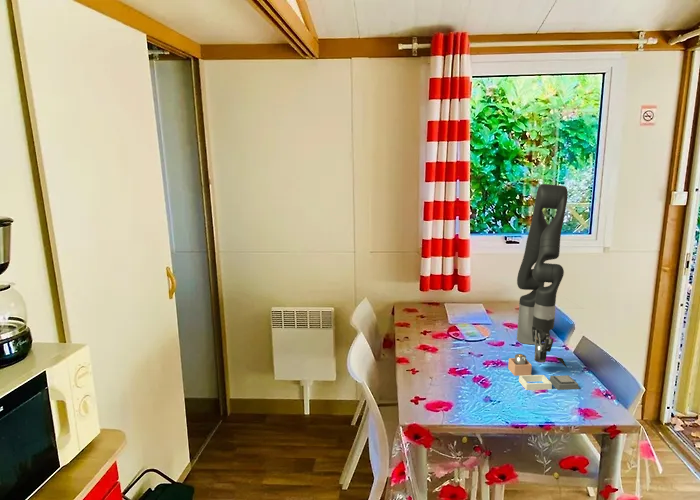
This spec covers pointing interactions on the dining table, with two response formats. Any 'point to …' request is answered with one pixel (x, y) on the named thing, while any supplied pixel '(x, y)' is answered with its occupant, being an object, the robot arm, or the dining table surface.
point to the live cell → (538, 353)
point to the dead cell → (520, 359)
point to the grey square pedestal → (563, 386)
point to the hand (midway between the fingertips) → (540, 357)
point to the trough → (535, 386)
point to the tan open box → (519, 368)
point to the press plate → (564, 379)
